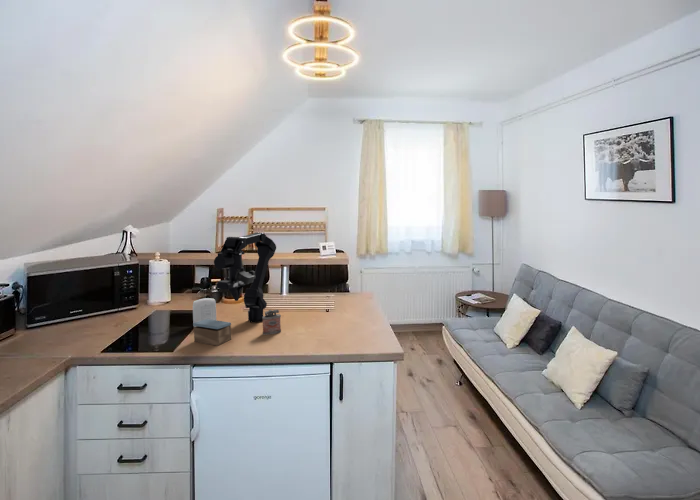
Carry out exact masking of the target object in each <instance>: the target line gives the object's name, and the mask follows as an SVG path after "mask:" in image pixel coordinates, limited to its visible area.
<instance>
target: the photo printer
mask: <svg viewBox="0 0 700 500" xmlns="http://www.w3.org/2000/svg"><path fill="white" fill-rule="evenodd" d="M216 303H217V302H216V299H214V298H212V297H211V298H209V297H207V298H206V297H204V298H200V299H197V300H194V301H193V303H192V321H193V323H195V322H199V321H202V320H206V319H210V320H217V304H216ZM193 323H192V324H193ZM194 327H196V326H193V328H194Z"/></svg>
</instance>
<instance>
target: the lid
mask: <svg viewBox="0 0 700 500" xmlns="http://www.w3.org/2000/svg"><path fill="white" fill-rule="evenodd" d="M192 325H193V327H194V326H199V327H206V328H212V329H220V328H223V327H226V326H229V325H232V322H229V321H222V320H217V319H216V320H210V319H206V320H202V321H199V322H195V323H192Z"/></svg>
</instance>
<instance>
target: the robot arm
mask: <svg viewBox="0 0 700 500" xmlns="http://www.w3.org/2000/svg"><path fill="white" fill-rule="evenodd" d="M253 244H254V246H255V247H256V250H257V251H256V252H257V256H258V260H257V263H256V267H255V271H254V270H250V271H246V270H245V267H243V257H242V255H245V252H244V251H243V250H244V249H246V246H248V245H249V246H250V245H253ZM276 250H277V244H276V243H275V242H274V241H273V239H272V238H269V236H267V235H266V234H265V233H264V232H254V233H252V234H247V235H242V236H227V237H226V239H225V241H224V242H223V245H222V248H221V250H220V252H218V253H217V256H215V257H214V260H213V264H214V268H216V269H218V270H225V269H226V271H227V272H228V277H226V279H223V280H219V281H217V282H216V289H220V290H228V291H229V292H230V294H231V296H232V298H233V300H234V301H235V302H238V301H239V299H240V295H241V292H242V289H243V288H244V287H245V286H247V285H249V284H251V285H250V287H249V288H248V287H247V288H245V290H244V291H245V292H244V295H243V302H244V306H245V308H246V309H248V310H247V320H248V322H249V323H251V324H252V323H261V322H262V323H263V319H262V317H263V316H264V310H265V309H266V308H267V305H268V303H267V301H266V300H265V299H264V292H263V289H262V288H263V285H264V281H265V277H266V273H267V269H268V265H269V262H270V260H271V259H272V258H273V257H274V255H275V253H276Z"/></svg>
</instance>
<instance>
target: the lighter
mask: <svg viewBox="0 0 700 500" xmlns="http://www.w3.org/2000/svg"><path fill="white" fill-rule="evenodd" d="M281 316H282V315H281V314H280V310H279V309H273V310H272V309H269V310H268V311H267V310H265V312H264V315H263V317H262V319H263V322H262V335H263V336H264V335H265V336H266V335H275V334H279V333H282V328H281V326H282V325H281Z"/></svg>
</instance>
